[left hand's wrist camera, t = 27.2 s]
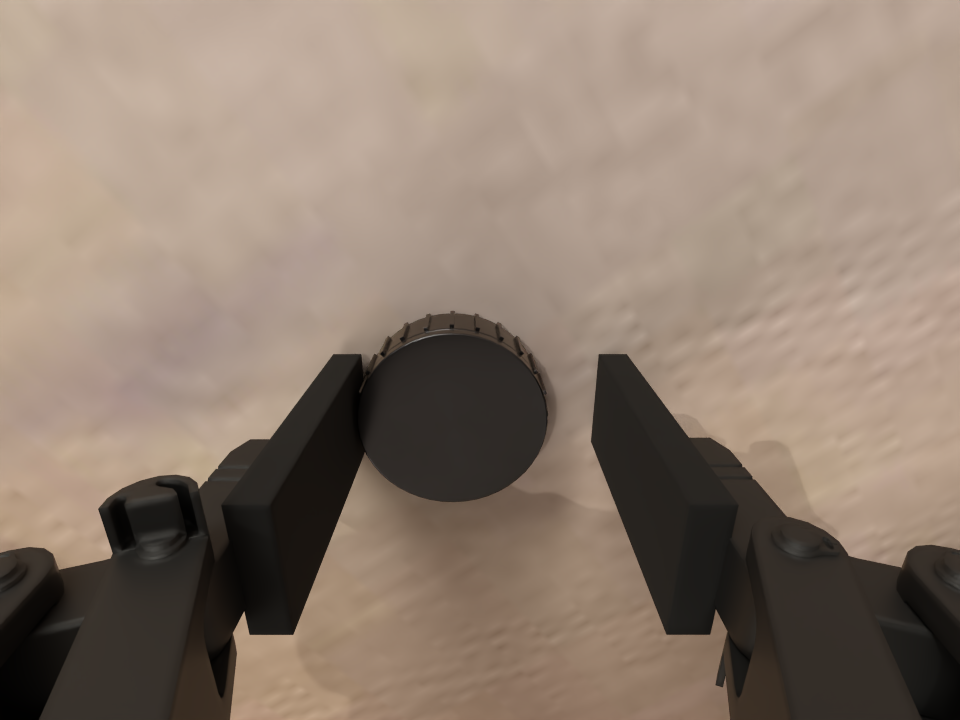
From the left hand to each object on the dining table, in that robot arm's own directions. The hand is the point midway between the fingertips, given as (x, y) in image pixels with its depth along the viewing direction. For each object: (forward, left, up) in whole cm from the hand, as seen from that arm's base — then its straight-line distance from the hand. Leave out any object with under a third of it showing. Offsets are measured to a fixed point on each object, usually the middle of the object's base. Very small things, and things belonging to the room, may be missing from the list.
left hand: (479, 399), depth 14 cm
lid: (-1, 0, +1) cm, 1 cm away
